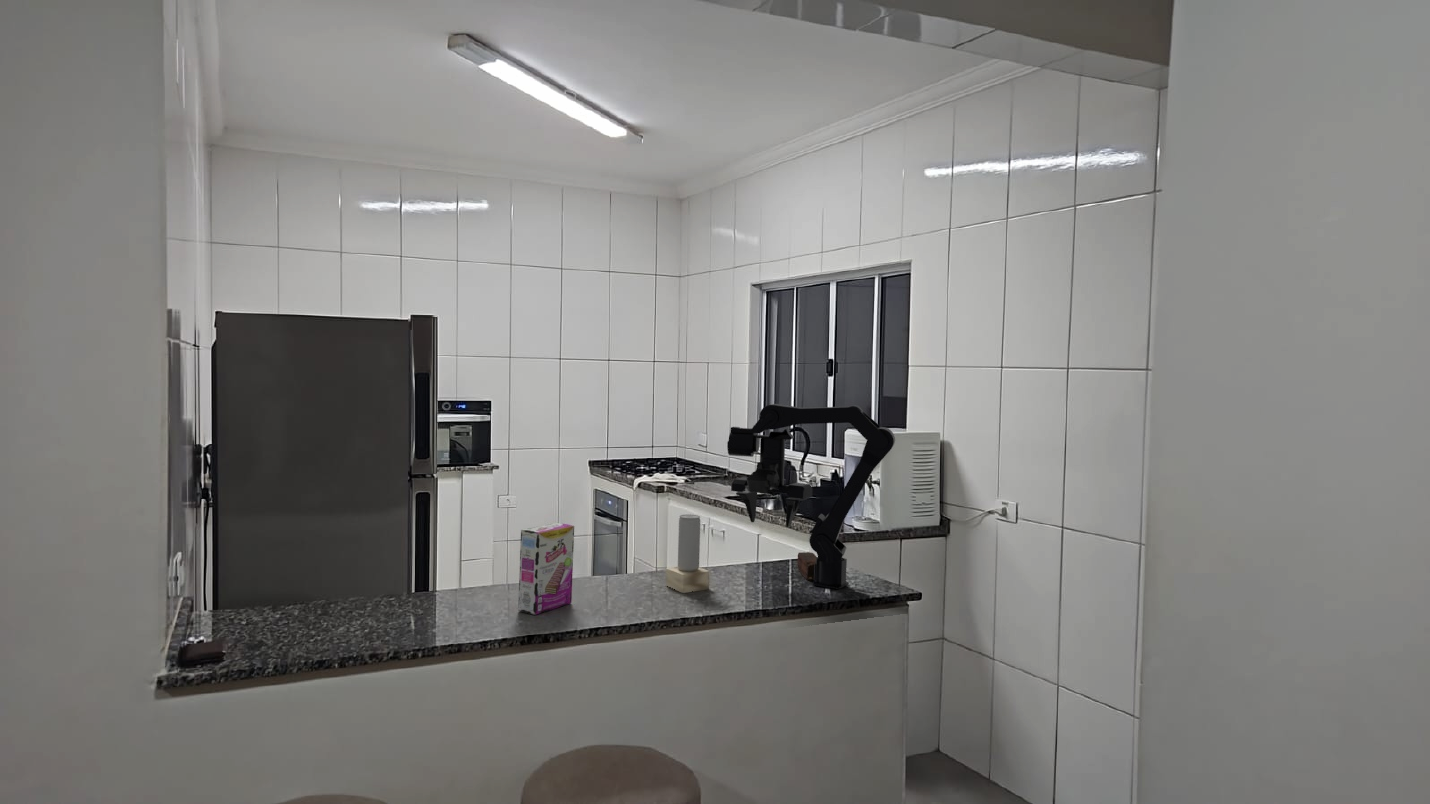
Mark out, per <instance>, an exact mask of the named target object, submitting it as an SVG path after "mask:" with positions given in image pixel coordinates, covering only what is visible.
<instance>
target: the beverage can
mask: <svg viewBox="0 0 1430 804" xmlns="http://www.w3.org/2000/svg"><path fill="white" fill-rule="evenodd" d="M677 540H678V542H677V545H678V546H677V567H678V568H679V570H681V571H687V572H692V571H696V570H698V568H700V552H701V551H700V550H701V549H700V546H701V515H697V514H681V515H679V518H678V539H677Z"/></svg>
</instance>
